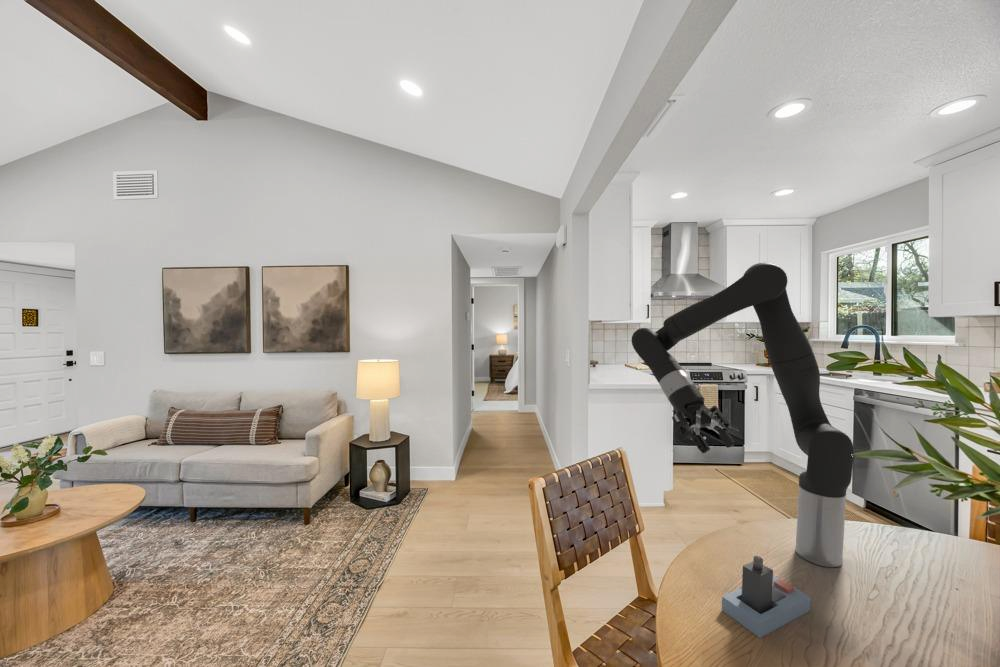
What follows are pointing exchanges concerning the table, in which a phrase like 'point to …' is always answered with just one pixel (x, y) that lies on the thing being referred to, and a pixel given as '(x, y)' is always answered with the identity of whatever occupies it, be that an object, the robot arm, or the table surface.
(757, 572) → the black plug
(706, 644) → the table surface
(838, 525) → the robot arm
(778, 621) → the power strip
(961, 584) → the table surface
